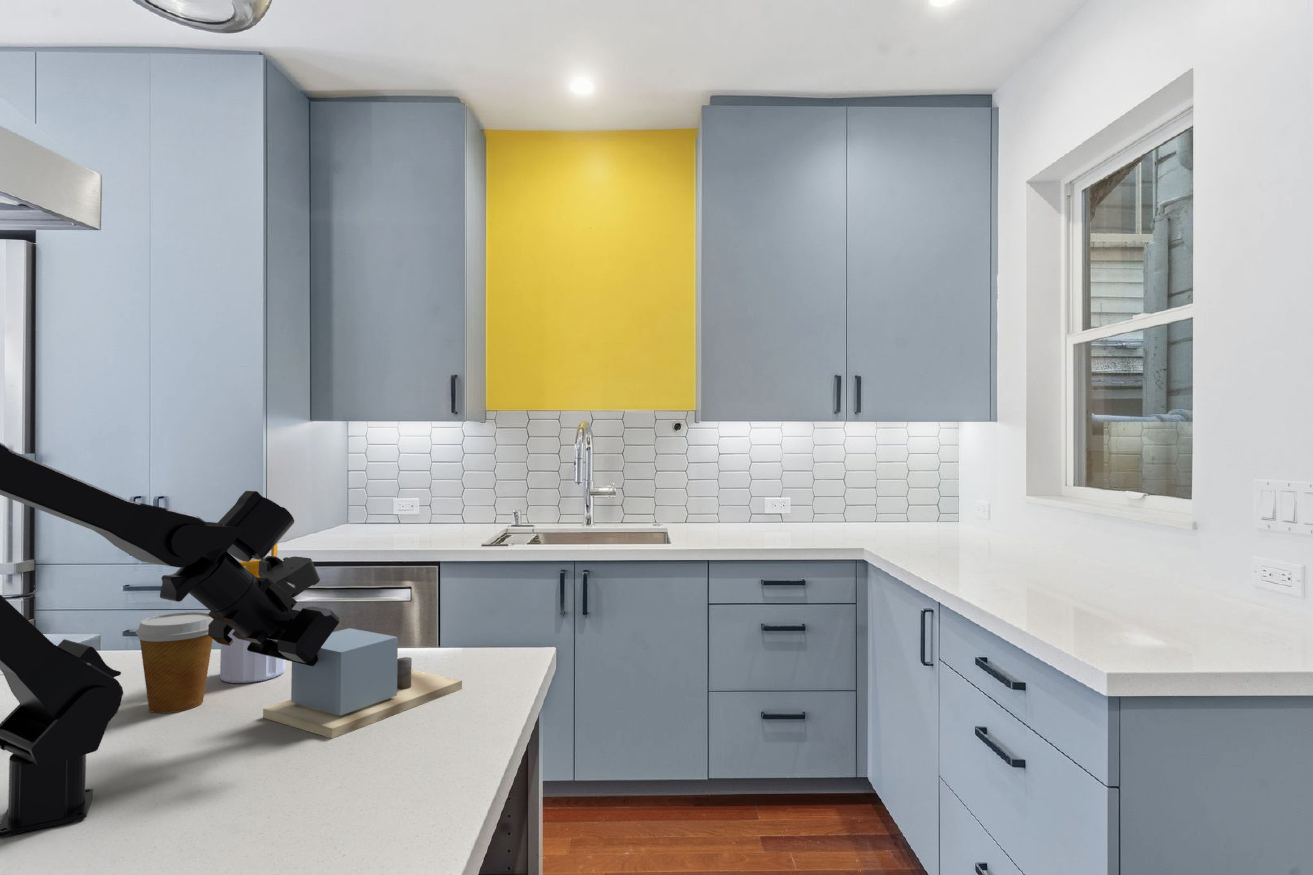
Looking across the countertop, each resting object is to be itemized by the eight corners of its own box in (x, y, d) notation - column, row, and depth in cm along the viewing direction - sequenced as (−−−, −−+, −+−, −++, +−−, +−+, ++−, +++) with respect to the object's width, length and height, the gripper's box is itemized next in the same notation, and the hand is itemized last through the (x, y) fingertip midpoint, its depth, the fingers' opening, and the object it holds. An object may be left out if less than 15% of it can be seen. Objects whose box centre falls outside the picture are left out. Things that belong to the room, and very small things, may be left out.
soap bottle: (225, 670, 117) (228, 516, 118) (289, 664, 120) (291, 515, 121) (213, 686, 109) (217, 521, 109) (282, 680, 112) (284, 520, 113)
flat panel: (332, 738, 90) (333, 695, 90) (263, 717, 96) (263, 677, 96) (462, 688, 109) (462, 653, 109) (396, 674, 116) (396, 641, 116)
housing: (340, 715, 93) (341, 652, 93) (291, 702, 98) (292, 641, 98) (397, 695, 101) (397, 636, 101) (348, 683, 106) (349, 628, 106)
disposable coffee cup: (222, 691, 107) (223, 608, 107) (208, 712, 98) (210, 622, 98) (145, 698, 104) (147, 613, 104) (124, 721, 95) (126, 628, 95)
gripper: (326, 542, 86) (399, 618, 96) (233, 533, 95) (308, 603, 105) (261, 623, 79) (347, 696, 89) (167, 604, 88) (254, 672, 98)
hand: (314, 662), depth 95 cm, fingers closed, pressing on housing
